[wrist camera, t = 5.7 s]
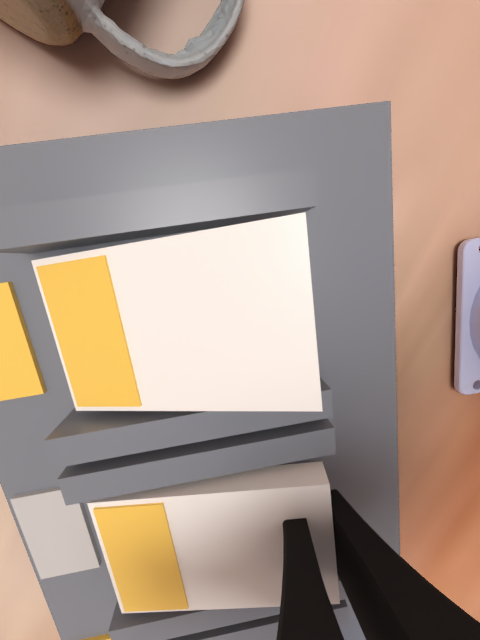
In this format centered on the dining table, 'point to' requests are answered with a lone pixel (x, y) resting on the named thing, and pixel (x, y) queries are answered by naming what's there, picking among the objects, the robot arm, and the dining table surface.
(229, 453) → the switch panel
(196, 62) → the ceramic mug
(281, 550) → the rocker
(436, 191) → the dining table surface
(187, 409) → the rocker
